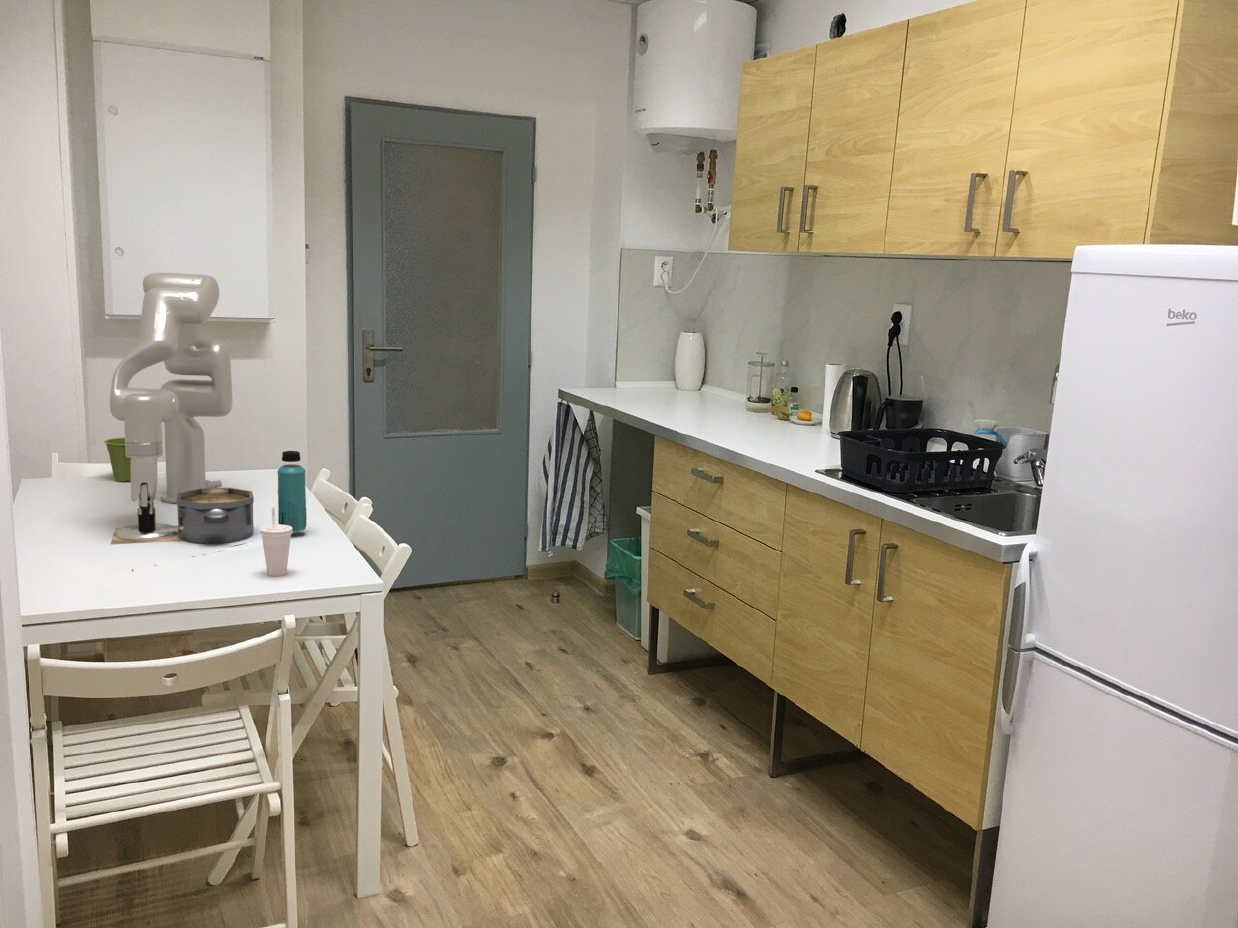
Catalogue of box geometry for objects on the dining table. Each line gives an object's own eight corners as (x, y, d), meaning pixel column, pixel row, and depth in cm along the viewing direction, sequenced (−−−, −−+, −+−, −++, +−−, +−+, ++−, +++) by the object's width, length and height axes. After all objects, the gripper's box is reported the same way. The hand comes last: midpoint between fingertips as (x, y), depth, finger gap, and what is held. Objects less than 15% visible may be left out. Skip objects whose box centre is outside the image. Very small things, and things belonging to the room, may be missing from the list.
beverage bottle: (312, 533, 242) (312, 450, 238) (295, 539, 236) (294, 454, 232) (289, 529, 244) (288, 447, 240) (271, 536, 238) (270, 451, 234)
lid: (156, 524, 239) (155, 499, 238) (188, 534, 232) (188, 508, 231) (105, 534, 228) (104, 508, 227) (138, 544, 222) (137, 517, 221)
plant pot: (139, 485, 282) (138, 445, 280) (97, 482, 282) (95, 443, 280) (159, 476, 294) (158, 438, 292) (118, 474, 294) (117, 436, 292)
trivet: (115, 532, 234) (115, 528, 234) (181, 529, 239) (181, 525, 239) (110, 548, 221) (110, 544, 221) (180, 545, 227) (180, 540, 226)
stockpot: (179, 529, 239) (178, 487, 237) (251, 526, 245) (250, 484, 243) (177, 553, 220) (176, 507, 219) (255, 549, 226) (255, 504, 225)
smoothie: (265, 568, 213) (264, 503, 210) (296, 569, 213) (295, 504, 211) (256, 577, 206) (255, 510, 204) (289, 578, 207) (288, 511, 204)
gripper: (127, 443, 233) (131, 520, 236) (122, 456, 218) (126, 539, 221) (163, 442, 236) (166, 519, 239) (161, 455, 220) (164, 537, 224)
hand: (147, 528), depth 230 cm, fingers closed on lid, 3 cm apart
